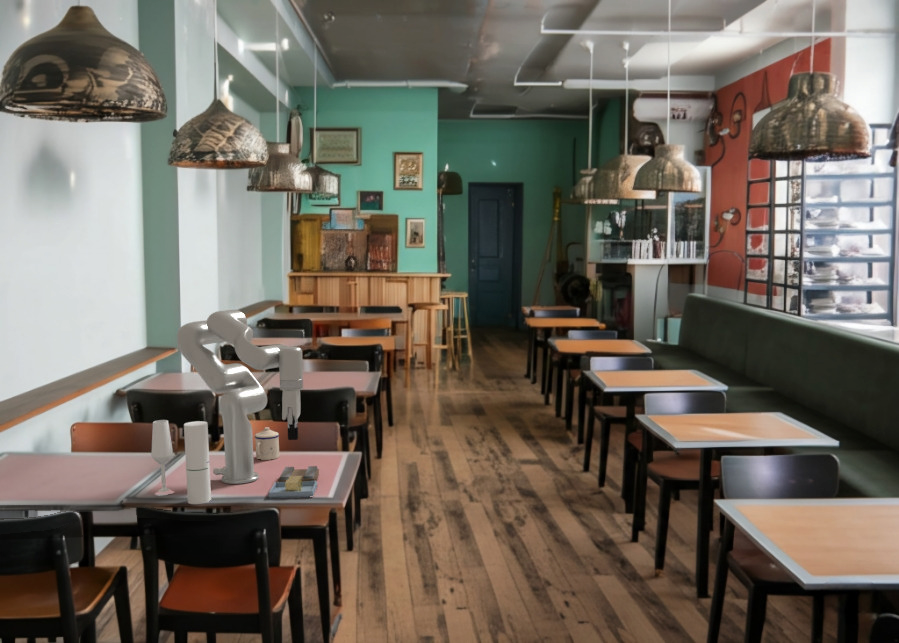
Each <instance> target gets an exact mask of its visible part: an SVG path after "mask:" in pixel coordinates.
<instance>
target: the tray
mask: <svg viewBox="0 0 899 643" xmlns="http://www.w3.org/2000/svg"><path fill="white" fill-rule="evenodd" d="M316 488H318V480H317V481H302V490H301V491H286V488H285V482H278V481H275V482H274V483H273V485H272V487H271V488H270V490H269V491H268V499H269V498H270V499H294V498H295V499H298V498H299V497H304V498H311V497H310V496H313V495H314V496H315V494H314V493H316V491H317V489H316ZM315 490H316V491H315ZM314 496H313V497H314Z"/></svg>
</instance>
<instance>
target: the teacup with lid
mask: <svg viewBox="0 0 899 643" xmlns="http://www.w3.org/2000/svg"><path fill="white" fill-rule="evenodd" d="M279 436H280V434H279V432H277V431H274V430H272V429H270V427H269V426H267V427H264V428H263V430H261V431H259V432H257V433H256V434H254V438H255V457H256V459H257V460H258V459H261V460H260V461H272V460H271V459H273V460H276V459H278V458H280V443H279V439H280V438H279Z"/></svg>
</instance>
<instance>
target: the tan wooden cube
mask: <svg viewBox="0 0 899 643" xmlns="http://www.w3.org/2000/svg"><path fill="white" fill-rule="evenodd" d="M285 488H286V491H300V486H299V479H288V480H286V482H285Z"/></svg>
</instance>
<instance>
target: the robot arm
mask: <svg viewBox="0 0 899 643" xmlns="http://www.w3.org/2000/svg"><path fill="white" fill-rule="evenodd" d="M253 338H254V331H253V329H252V328H251V327H250V326H249V325H248V319H247V317H246V315H245V314H244V313H243V312H242V311H241V310H239V309H227V310H225V309H224V310H219V311H215V312H212V313H211V314H209V316H208V317H207V320H199V321H198V320H197V321H192V322H188V323H185V324H183V325H182V326H181V327H180V328H179V329H178V331H177V334H176V342H177V347H178V349H179V352H180V353H181V355H182V356H183V357H184V358H185V359H186V361H187V362H188V363H189V364H190V365H191V366H192V367H193V369H194V370H195V371H196V372H197V374H198V375H199V376H200V377H201V379H202V380H203V382H204V383H205V384H206V386H207V387H208V388H209V390H210V391H212V392H213V393H214V394H222V395H221V397H220V399H219V410H220V414H221V417H222V418H221V419H222V426H223V440H224V441H223V442H224V444H223V445H224V458H225V459H224V462H225V463H224V464H225V466H223V467H221V468H220V467H214V468H213V470H212V471H213V474H214V475H215V476H221V475H222V476H221V482H222V483H224V484H230V485H231V484H232V485H238V484H239V485H240V484H246V483H252V482H254V481H255V482H256V481H257V480H258V479H259V477H260V474H259V473H257V472H255V465H254V464H255V461H254V441H253V426H252V424H251V421H250V420H249V418H248V415H251V414H254V413H258V412H260V411H262V410H264V409H265V408H266V407H267V404H268V395H267V393H266V390H265V389H264V388H263V386H262V385H261V384H260V382H259V381H258V380H257V379H256V377H255V376H254V374H253V373H252V372H251V371H250V370H249V368H248V367H246V366H245V365H244V364H246V365H247V366H249V367H251V368H252V369H254V370H258V371H265V370H269V369H276V368H279V390H280V391H282V397H281V402H282V403H281V405H282V407H281V408H282V409H281V411H282V412H281V419H282V420H283V421H285V420H287V441H296V440H298V439H299V427H298V424H299V421H298V419H299V417H300V415H301V407H302V406H301V404H302V403H301V390H303V389H304V369H303V368H304V366H303V365H304V364H303V350H302V348H301V347H299V346H287V345H285V344H270V345H265V346H257V345H256V344H254V343H253V342H252V340H253ZM223 341H224V342H225V343H227V344H229V345H231V346H232V347H233V348H234V351H235V353H236V355H237V358H238V359H239V360H240V362H242V363H244V364H241V363H236V362H235V363H229V364H228V363H227V364H225V363H223V362H222V361H221V360H220V359H219V357H218V356H217V354H215V353H214V352H213V351H212V350H210V349H209V348H207V347H205V345H210V344H217V343H221V342H223Z"/></svg>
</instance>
